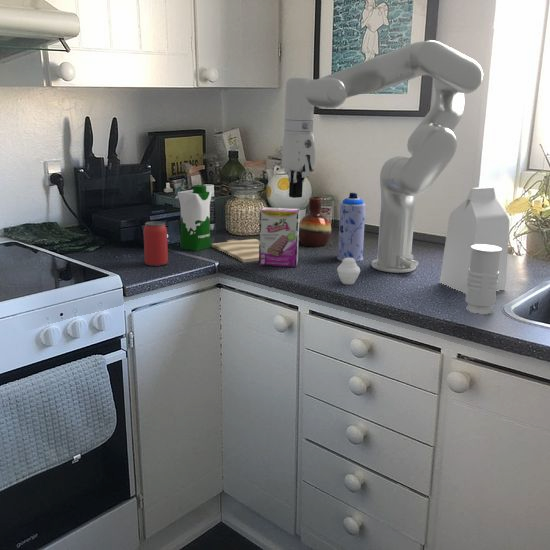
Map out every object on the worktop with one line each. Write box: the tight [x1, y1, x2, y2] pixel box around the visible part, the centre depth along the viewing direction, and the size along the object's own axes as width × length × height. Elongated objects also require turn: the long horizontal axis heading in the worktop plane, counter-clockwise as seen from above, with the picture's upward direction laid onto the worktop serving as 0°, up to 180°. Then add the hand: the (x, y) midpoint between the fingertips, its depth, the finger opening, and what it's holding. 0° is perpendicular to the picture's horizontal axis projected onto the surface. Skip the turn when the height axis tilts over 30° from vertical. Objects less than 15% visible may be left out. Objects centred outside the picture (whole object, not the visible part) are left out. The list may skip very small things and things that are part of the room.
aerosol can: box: [336, 192, 366, 263], centre depth 186 cm, size 8×8×20 cm
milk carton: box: [177, 184, 213, 252], centre depth 196 cm, size 9×9×20 cm
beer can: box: [142, 220, 169, 267], centre depth 178 cm, size 7×7×12 cm
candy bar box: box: [258, 206, 301, 268], centre depth 178 cm, size 11×5×16 cm, turn 84°
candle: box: [464, 244, 502, 315], centre depth 143 cm, size 7×7×15 cm
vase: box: [298, 196, 332, 247], centre depth 204 cm, size 11×11×15 cm
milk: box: [439, 186, 510, 295], centre depth 159 cm, size 12×12×26 cm
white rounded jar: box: [336, 257, 361, 285], centre depth 163 cm, size 6×6×7 cm
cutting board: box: [211, 238, 259, 263], centre depth 196 cm, size 24×16×1 cm, turn 31°
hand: (295, 196), depth 167 cm, fingers closed
